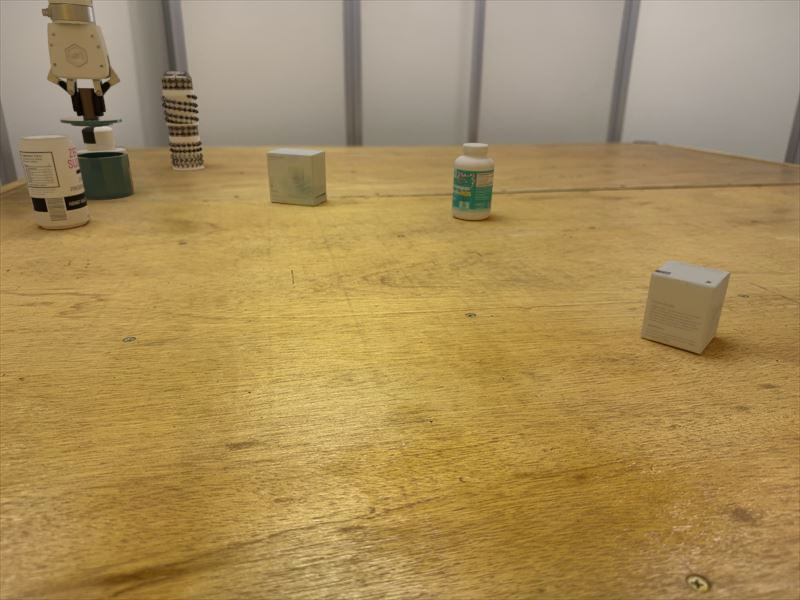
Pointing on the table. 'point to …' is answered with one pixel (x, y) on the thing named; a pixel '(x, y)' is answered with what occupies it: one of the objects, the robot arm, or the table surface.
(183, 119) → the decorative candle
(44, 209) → the supplement can
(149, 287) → the table surface
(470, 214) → the pill bottle
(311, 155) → the cosmetics box
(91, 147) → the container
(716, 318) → the white cardboard box
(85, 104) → the jar lid
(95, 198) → the storage jar
